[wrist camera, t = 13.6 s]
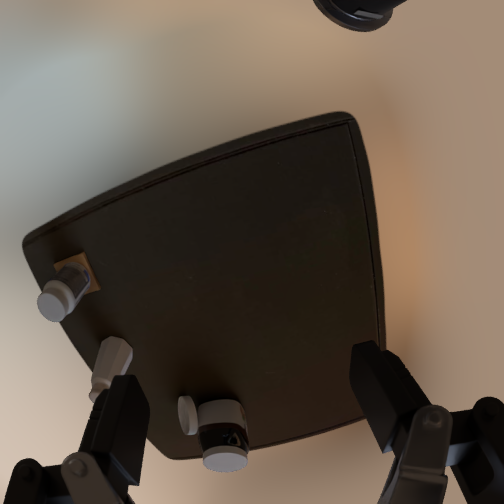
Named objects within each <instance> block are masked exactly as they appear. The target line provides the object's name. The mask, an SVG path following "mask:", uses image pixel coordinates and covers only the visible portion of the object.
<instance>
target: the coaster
mask: <svg viewBox="0 0 504 504" xmlns="http://www.w3.org/2000/svg"><path fill="white" fill-rule="evenodd" d="M69 262H77V263H79V264H81V265H83V266H84V267H85V268H86V269H87V271H88V272H89V275H90V286H89V288H88V290H87V291H86V293H85V294H87V293H91V292H94V291H97V290H100V289H101V286H100V284H99V282H98V280H97V278H96V276H95V274H94V272H93V270H92V268H91V265H90V263H89V261H88V259H87V257H86V254H85V252H82V253H79V254H77V255H74V256H72V257H69V258H67V259H64V260H62V261H59V262H57V263H55V264H54V267H55V269H56V272H58V271H59V270H60V269H61V268H62V267H63V266H64V265H66V264H67V263H69Z"/></svg>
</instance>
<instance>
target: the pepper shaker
mask: <svg viewBox="0 0 504 504" xmlns="http://www.w3.org/2000/svg"><path fill="white" fill-rule="evenodd" d="M131 360H132V347H131V346H130V345H129V344H128V343H127V342H126V341H125V340H124V339H122V338H117V337H113V336H110V337H108V338H107V339H105V340H103V341H102V343H101V346H100V350H99V353H98V356H97V360H96V363H95V367H94V370H93V374H92V379H91V383H92V389H91V392H90V393H89V398H90V400H91V401H92V402H93V403H94V402H95V400H96V398H97V396H98V395H99V394H100V393H101V392H102V391H103V389H109V388H110V385H111V382H112V379H113V377H114V376H115V375H124V374H125V372H126V370H127V368H128V366H129V364H130V362H131Z"/></svg>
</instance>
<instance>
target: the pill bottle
mask: <svg viewBox="0 0 504 504" xmlns="http://www.w3.org/2000/svg"><path fill="white" fill-rule="evenodd" d="M89 286H90V275H89V272H88V271H87V269H86V268H85V267H84V266H83V265H81V264H79V263H77V262H69V263H67V264H66V265H64V266H63V267H62V268H61V269H60V270H59V271H58V272H57V273H56V274H55V275H54V276H53V277H52V278H51V279H50V280H49V281H48V282H47V283H46V285H45V286H44V289H43V292H42V293H41V294H40V296H39V297H38V300H37V305H38V309H39V311H40V312H41V314H42V315H43V316H44V317H45V318H46V319H48V320H50V321H52V322H59V321H61V320H63V318H64V317H65V316H66V315H67V314H69V313H71V312H72V311H73V309H74V308H75V306H76V305H77V304H78V302H79V301H80V299H81V298H82V297H83V295H84V294H85V293H86V291H87V290H88V288H89Z"/></svg>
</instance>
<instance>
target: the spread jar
mask: <svg viewBox="0 0 504 504" xmlns="http://www.w3.org/2000/svg"><path fill="white" fill-rule="evenodd" d="M178 414H179V420H180V424H181V427H182V430H183V432H184V433H185V434H186V435H193V434H196V432H197V429H198V440H199V444H200V448H201V451H202V453H203V464H204V466H205V467H206V468H208V469H210V470H213V471H217V472H233V471H237V470H240V469H242V468H244V467H245V466H246V465H247V463H248V459H247V454H248V452H249V441H248V433H247V424H246V417H245V412H244V409H243V406H242V405H241V403H240V402H239V401H238V400H236V399H233V398H227V397H220V398H214V399H210V400H207V401H205V402H203V403H202V404H201V405H200V406H199V409H198V419H197V413H196V408H195V405H194V402H193V400H192V398H191V397H190V396H180V397H179V400H178Z"/></svg>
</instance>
